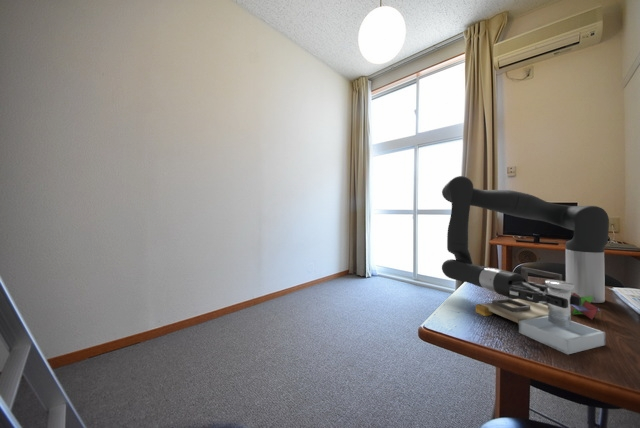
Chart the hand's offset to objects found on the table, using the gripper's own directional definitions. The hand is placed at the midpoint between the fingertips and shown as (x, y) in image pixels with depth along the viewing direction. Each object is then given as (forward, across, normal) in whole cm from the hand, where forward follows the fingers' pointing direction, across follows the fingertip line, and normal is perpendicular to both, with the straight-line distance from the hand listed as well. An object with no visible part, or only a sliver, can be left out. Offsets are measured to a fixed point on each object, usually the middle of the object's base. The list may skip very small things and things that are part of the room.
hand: (573, 302), depth 56 cm
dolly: (-15, +5, +10) cm, 18 cm away
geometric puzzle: (-9, +22, +10) cm, 26 cm away
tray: (-3, 0, +10) cm, 10 cm away
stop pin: (-3, 0, +6) cm, 7 cm away
